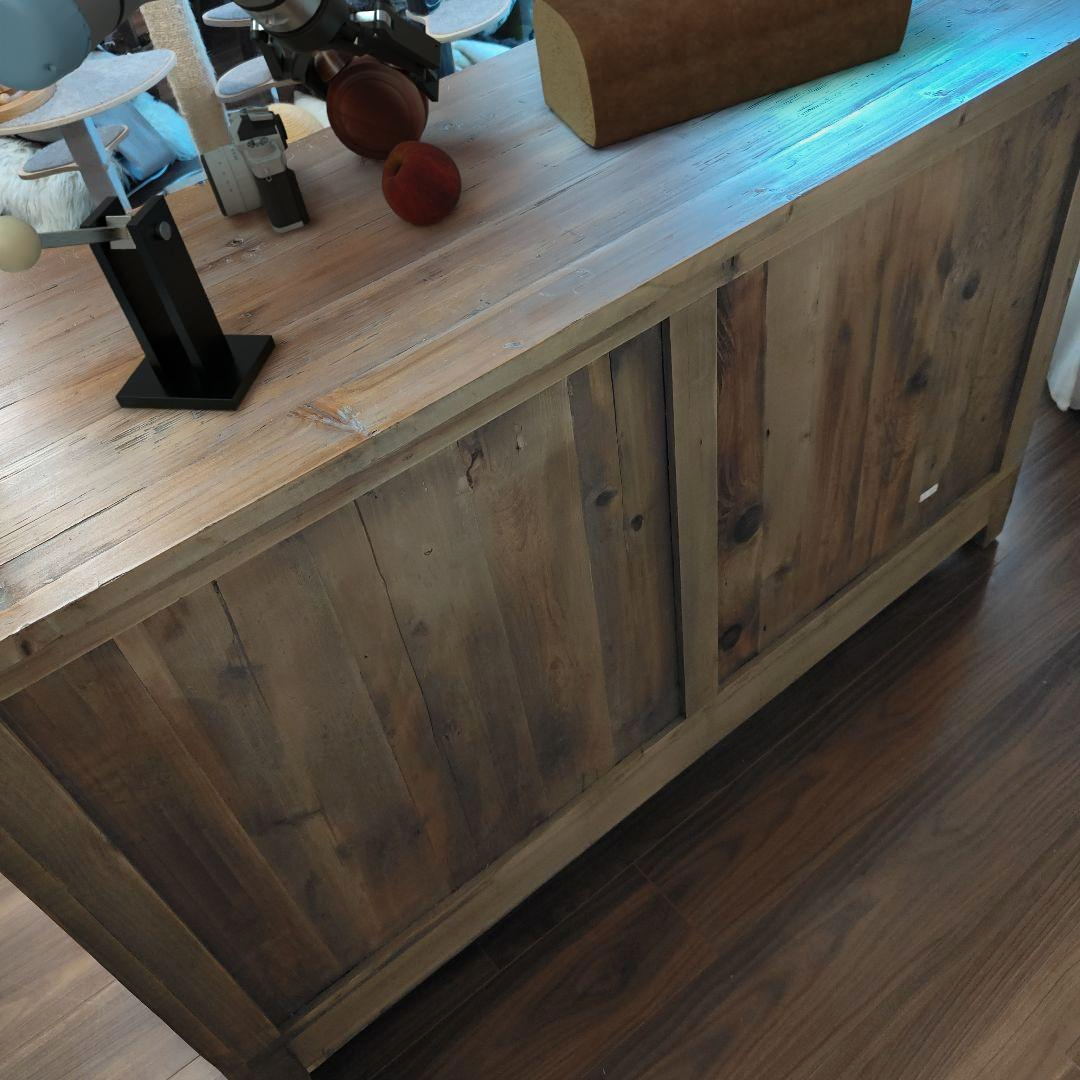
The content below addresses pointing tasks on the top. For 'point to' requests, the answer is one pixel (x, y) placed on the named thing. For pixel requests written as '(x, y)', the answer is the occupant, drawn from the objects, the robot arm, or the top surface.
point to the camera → (256, 170)
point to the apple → (421, 183)
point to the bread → (695, 55)
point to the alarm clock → (371, 103)
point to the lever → (54, 240)
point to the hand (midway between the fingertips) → (385, 92)
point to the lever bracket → (173, 318)
